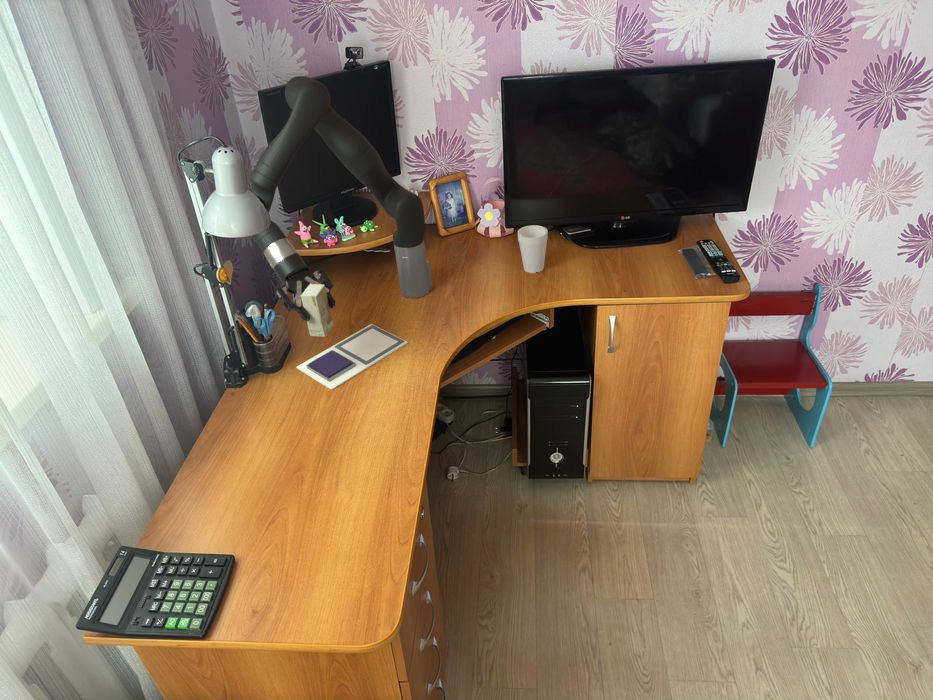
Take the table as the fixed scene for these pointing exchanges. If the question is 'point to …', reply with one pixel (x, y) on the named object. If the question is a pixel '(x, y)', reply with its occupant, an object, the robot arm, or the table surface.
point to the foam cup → (533, 247)
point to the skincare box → (317, 310)
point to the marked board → (358, 353)
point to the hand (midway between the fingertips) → (321, 313)
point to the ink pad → (330, 365)
